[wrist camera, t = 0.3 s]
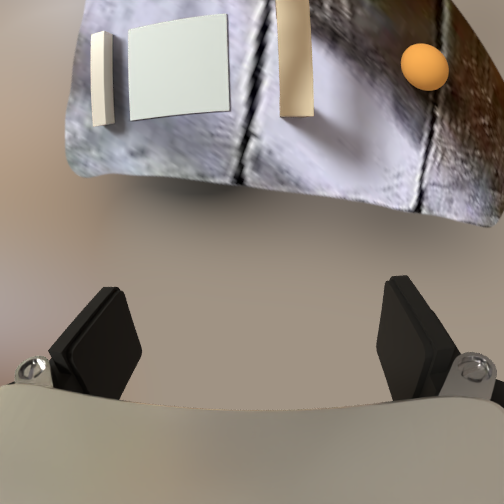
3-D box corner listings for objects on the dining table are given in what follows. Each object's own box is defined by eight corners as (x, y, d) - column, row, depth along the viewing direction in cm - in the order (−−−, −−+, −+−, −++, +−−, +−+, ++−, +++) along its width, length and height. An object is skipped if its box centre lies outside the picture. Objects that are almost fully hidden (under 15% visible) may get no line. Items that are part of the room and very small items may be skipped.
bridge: (279, 117, 36) (280, 115, 27) (275, 5, 30) (274, -27, 21) (305, 117, 36) (313, 116, 27) (300, 5, 30) (306, -26, 21)
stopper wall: (100, 38, 32) (91, 34, 30) (112, 34, 32) (104, 30, 30) (102, 125, 38) (93, 126, 35) (114, 123, 37) (105, 124, 35)
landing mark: (129, 30, 32) (128, 29, 32) (226, 14, 31) (226, 13, 31) (131, 120, 37) (130, 120, 37) (229, 110, 36) (229, 110, 36)
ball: (392, 44, 31) (410, 34, 25) (433, 52, 30) (455, 45, 25) (395, 88, 33) (413, 84, 28) (435, 95, 33) (458, 93, 27)
